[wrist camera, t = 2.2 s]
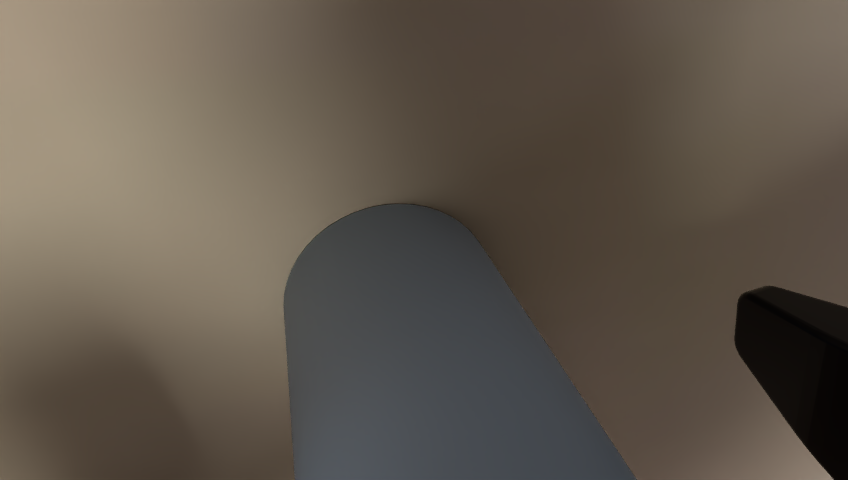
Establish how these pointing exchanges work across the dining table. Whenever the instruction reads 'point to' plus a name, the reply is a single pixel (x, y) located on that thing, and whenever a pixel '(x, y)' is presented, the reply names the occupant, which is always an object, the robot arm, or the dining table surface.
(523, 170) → the dining table surface
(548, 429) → the tapered blue cylinder
